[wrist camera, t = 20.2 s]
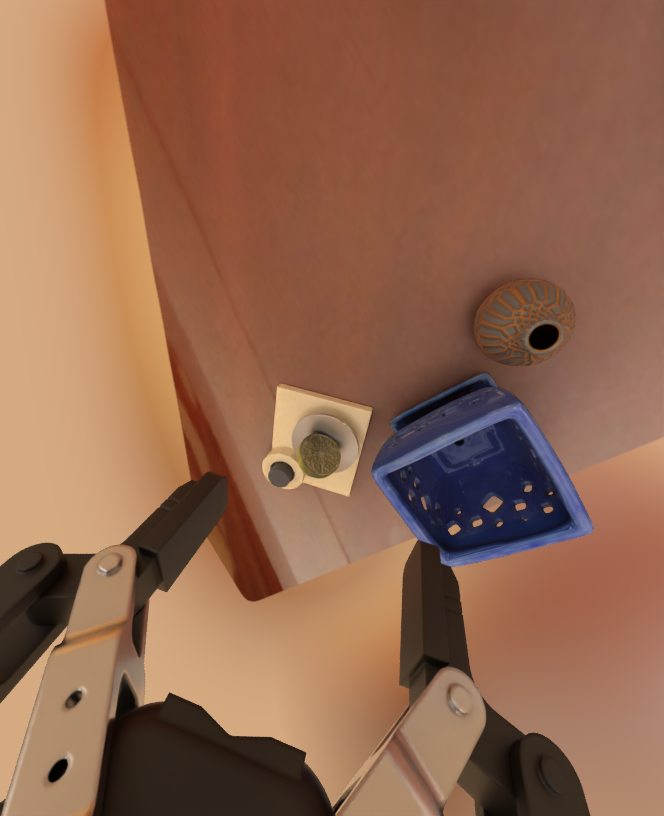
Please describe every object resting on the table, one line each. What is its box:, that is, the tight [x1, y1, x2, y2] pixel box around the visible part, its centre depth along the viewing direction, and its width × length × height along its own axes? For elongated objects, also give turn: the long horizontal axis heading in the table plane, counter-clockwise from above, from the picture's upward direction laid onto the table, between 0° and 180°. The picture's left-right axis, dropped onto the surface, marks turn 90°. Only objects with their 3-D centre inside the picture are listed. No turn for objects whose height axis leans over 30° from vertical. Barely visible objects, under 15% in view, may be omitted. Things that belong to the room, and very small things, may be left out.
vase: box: [474, 279, 576, 366], centre depth 24 cm, size 7×7×9 cm
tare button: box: [268, 462, 294, 487], centre depth 39 cm, size 3×3×2 cm
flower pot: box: [371, 372, 594, 567], centre depth 29 cm, size 13×13×12 cm
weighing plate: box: [292, 413, 359, 473], centre depth 35 cm, size 8×8×1 cm
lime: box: [297, 434, 341, 479], centre depth 33 cm, size 4×5×5 cm
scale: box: [262, 383, 373, 496], centre depth 38 cm, size 14×12×3 cm
